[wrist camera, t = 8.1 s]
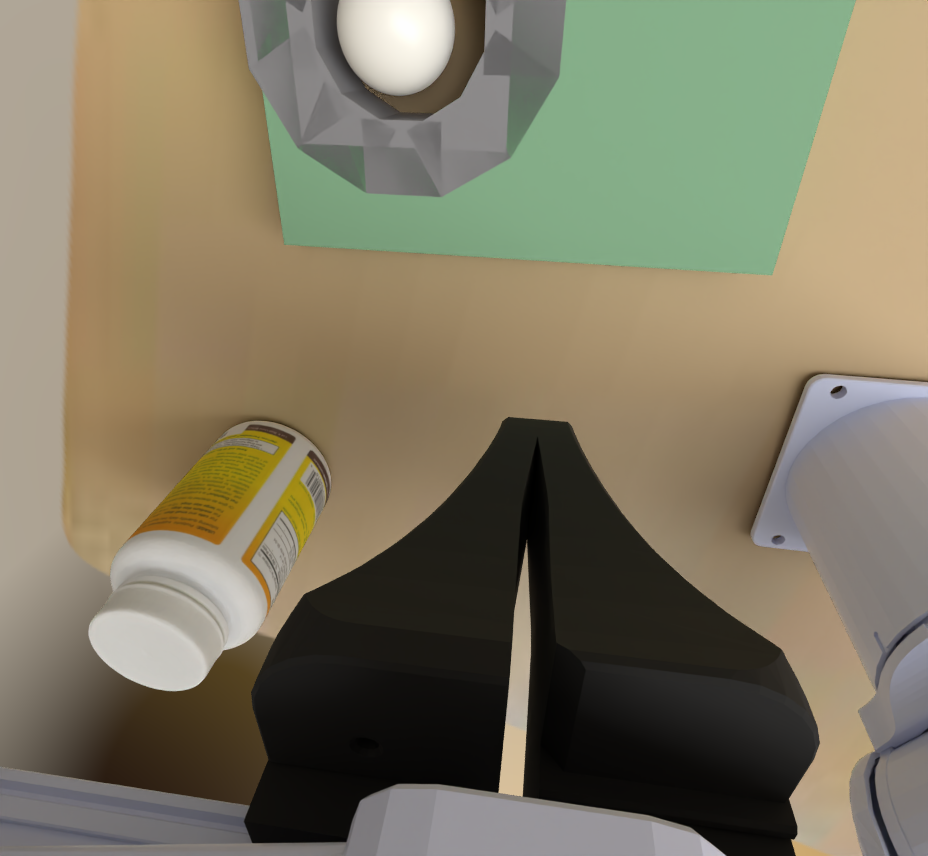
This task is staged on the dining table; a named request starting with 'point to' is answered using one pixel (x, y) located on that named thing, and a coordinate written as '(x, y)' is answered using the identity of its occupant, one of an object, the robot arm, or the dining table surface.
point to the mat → (559, 133)
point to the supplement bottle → (211, 556)
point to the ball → (396, 42)
